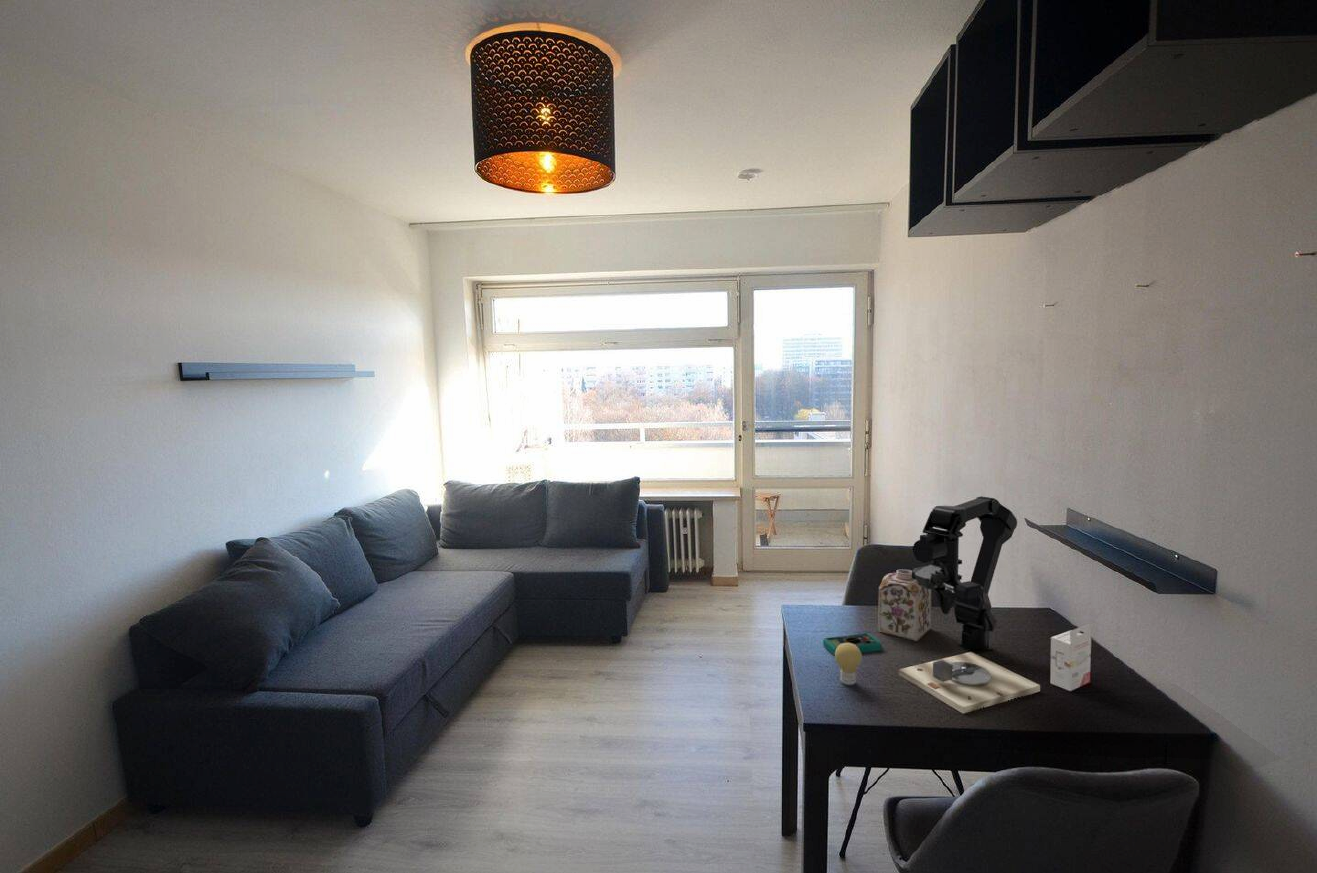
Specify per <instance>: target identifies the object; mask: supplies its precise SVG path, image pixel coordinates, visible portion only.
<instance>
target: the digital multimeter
mask: <svg viewBox="0 0 1317 873" xmlns="http://www.w3.org/2000/svg"><path fill="white" fill-rule="evenodd" d="M822 641H823V642H822V644H823V645H824V646H825V647H824V646H823V645H822V646H823V647H824V648H825V649H826V650H827V651H828V652H829V653H830V654H832V655H833V656H834V655H835V651H836V648H837V647H838V646H839V645H840V644H842V643H852V644H854V645H856V646H857V647H858V648H859V650H860V651H861V654H862V653H869V652H870V653H871V652H880V651H882V649H883V648H882V647H883V646H882V642H881V641H880V640H879V639H878V638H877V637H875V636H874V635H873V634H870V633H868V632H867V633H860V634H852V635H842V636H834V637H831V636H830V637H825V638H823V640H822Z"/></svg>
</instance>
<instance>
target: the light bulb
mask: <svg viewBox="0 0 1317 873" xmlns="http://www.w3.org/2000/svg"><path fill="white" fill-rule="evenodd" d="M834 658H835V659H834V660H835V661H836V663H837V665H838V666H839V667H840V674H839V675H840V682H841V683H843V684H844V685H847V686H853V685H855V684H856V683H857V669H858V668H859V667H860V665H861V663H862V660H863V656H862V653H861V651H860V650H859V648H858V647H857V646H856V645H854V644H852V643H842V644H840V645H839V646H838V647H837V648H836V651H835V656H834Z"/></svg>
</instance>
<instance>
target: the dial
mask: <svg viewBox="0 0 1317 873" xmlns="http://www.w3.org/2000/svg"><path fill="white" fill-rule="evenodd" d="M933 677H935V678H936V679H938V680H940V681H942V682H945V681H948V680H953V681H955V682H957V683H960V684H964V685H970V686H982V685H986V684H988V683H989V682H990V678H991V674H990V672H989V671H988V670H987V669H985V668H983V667H981V666H979V665H976V664H972V663H967V662H953V663H947V662H945V661H943V660H941V661H937V662H933Z"/></svg>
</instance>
